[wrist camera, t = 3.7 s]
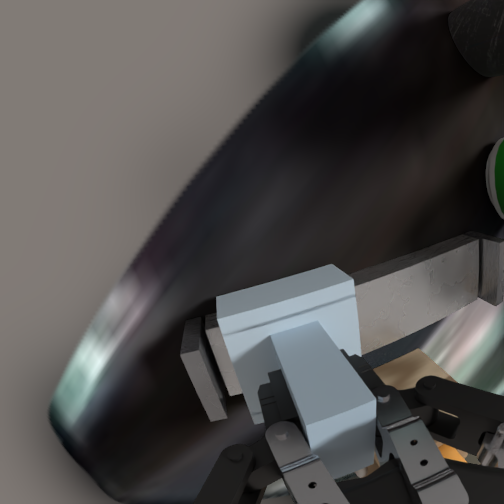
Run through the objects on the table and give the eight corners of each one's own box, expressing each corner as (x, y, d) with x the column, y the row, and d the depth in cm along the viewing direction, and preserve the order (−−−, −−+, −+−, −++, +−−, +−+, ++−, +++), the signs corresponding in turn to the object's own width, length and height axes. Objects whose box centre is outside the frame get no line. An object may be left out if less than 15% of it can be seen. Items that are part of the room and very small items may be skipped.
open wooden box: (418, 348, 21) (486, 408, 12) (413, 400, 23) (465, 459, 14) (326, 386, 20) (375, 474, 12) (333, 435, 22) (370, 512, 13)
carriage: (331, 263, 17) (432, 336, 8) (345, 364, 19) (413, 459, 10) (216, 296, 17) (222, 412, 8) (248, 394, 19) (273, 511, 10)
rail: (471, 230, 19) (506, 239, 16) (471, 286, 21) (502, 301, 17) (185, 320, 18) (179, 354, 14) (209, 382, 19) (210, 421, 15)
